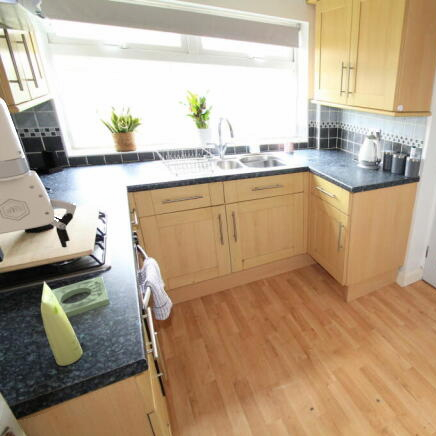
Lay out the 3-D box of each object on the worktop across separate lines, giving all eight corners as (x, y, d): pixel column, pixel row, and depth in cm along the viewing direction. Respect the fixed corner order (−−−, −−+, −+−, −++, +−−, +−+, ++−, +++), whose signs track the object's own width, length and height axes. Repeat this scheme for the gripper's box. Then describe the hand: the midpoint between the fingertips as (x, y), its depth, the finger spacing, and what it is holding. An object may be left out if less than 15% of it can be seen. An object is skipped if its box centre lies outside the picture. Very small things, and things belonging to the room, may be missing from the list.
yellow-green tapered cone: (90, 352, 76) (65, 285, 68) (70, 369, 72) (41, 299, 64) (71, 347, 77) (44, 281, 69) (50, 364, 73) (19, 295, 65)
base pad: (47, 328, 83) (43, 319, 81) (47, 300, 92) (44, 292, 91) (111, 307, 91) (108, 298, 89) (104, 283, 101) (102, 275, 99)
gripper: (-80, 182, 49) (-31, 275, 56) (62, 166, 59) (88, 246, 66) (-68, 170, 54) (-25, 257, 61) (61, 157, 64) (85, 233, 71)
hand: (34, 251), depth 63 cm, fingers open, 9 cm apart
